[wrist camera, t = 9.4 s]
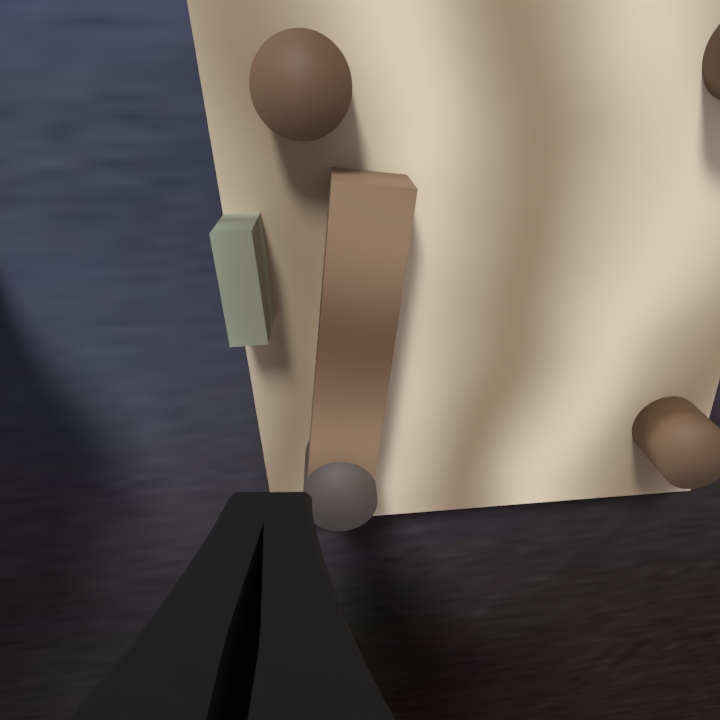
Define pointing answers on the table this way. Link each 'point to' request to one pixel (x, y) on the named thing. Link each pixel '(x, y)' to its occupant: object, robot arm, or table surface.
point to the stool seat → (484, 233)
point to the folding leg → (356, 340)
